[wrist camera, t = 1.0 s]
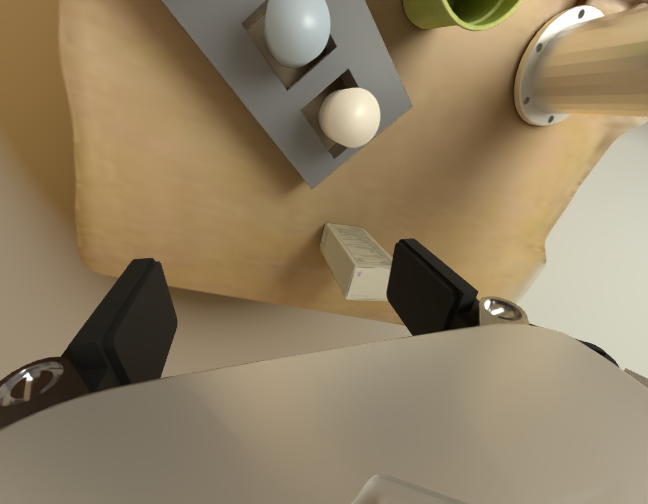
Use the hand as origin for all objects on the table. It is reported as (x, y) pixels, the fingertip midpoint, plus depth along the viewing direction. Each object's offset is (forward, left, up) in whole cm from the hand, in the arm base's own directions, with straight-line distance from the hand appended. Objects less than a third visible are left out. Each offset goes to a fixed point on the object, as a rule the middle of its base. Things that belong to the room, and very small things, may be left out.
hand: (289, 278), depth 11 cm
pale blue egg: (-10, -7, -21) cm, 24 cm away
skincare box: (-2, +15, -25) cm, 29 cm away
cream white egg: (-10, +1, -21) cm, 23 cm away
